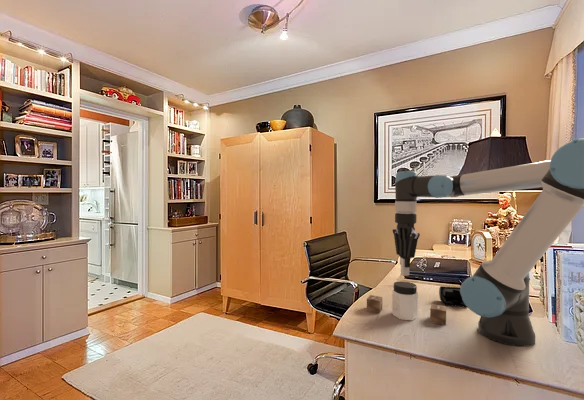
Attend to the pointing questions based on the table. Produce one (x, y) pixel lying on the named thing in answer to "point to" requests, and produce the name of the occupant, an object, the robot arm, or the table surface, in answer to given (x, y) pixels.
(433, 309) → the walnut block
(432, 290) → the table surface
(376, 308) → the walnut block
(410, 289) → the jar
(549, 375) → the table surface
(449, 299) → the end cap
